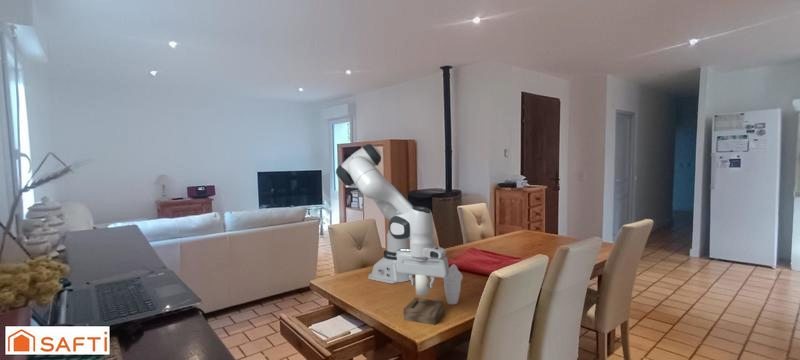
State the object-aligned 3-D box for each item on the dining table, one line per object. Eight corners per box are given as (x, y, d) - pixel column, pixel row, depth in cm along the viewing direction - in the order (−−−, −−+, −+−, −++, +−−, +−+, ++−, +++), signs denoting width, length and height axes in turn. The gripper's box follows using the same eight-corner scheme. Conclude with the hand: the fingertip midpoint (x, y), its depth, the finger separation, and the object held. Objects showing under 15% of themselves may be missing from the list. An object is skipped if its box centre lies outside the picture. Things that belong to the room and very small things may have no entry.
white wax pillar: (413, 295, 137) (413, 273, 136) (418, 290, 142) (417, 269, 141) (426, 296, 135) (426, 274, 135) (430, 292, 140) (430, 270, 139)
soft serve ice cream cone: (449, 307, 146) (448, 268, 145) (438, 300, 153) (438, 263, 152) (466, 304, 149) (466, 265, 148) (455, 297, 157) (455, 260, 156)
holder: (403, 319, 136) (403, 309, 135) (414, 307, 147) (414, 297, 146) (435, 324, 131) (434, 313, 131) (443, 311, 142) (443, 301, 142)
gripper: (393, 249, 138) (393, 285, 139) (445, 254, 131) (445, 292, 131) (399, 246, 144) (400, 280, 145) (450, 250, 136) (450, 286, 137)
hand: (422, 286), depth 138 cm, fingers closed on white wax pillar, 5 cm apart
